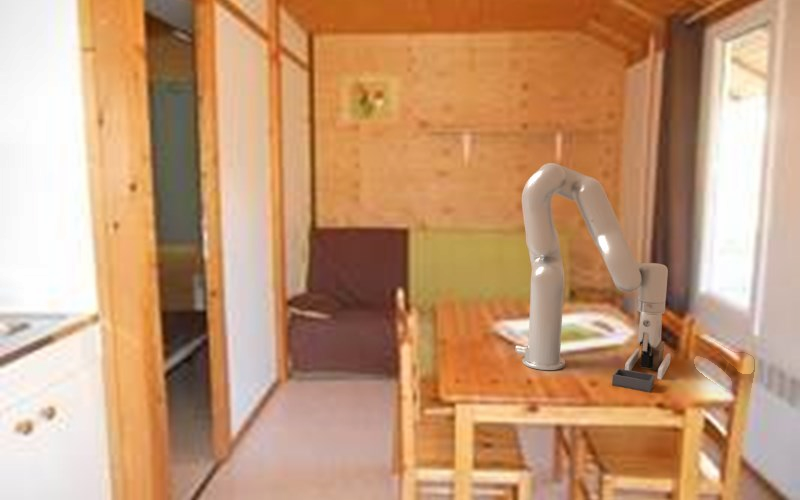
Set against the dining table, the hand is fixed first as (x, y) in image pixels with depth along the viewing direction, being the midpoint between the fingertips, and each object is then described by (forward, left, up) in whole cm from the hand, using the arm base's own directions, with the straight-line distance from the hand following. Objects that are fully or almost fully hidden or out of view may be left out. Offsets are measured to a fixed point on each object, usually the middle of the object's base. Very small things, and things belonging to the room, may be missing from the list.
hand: (646, 366), depth 193 cm
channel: (0, +3, -1) cm, 3 cm away
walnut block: (0, +8, -1) cm, 8 cm away
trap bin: (-1, -14, -1) cm, 14 cm away
